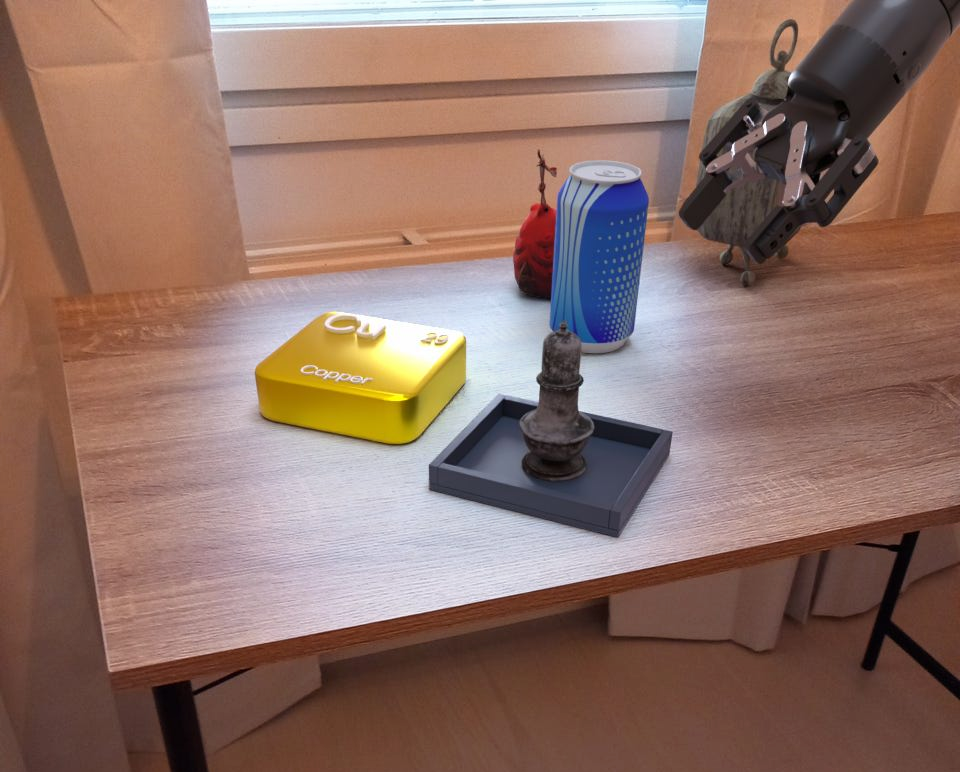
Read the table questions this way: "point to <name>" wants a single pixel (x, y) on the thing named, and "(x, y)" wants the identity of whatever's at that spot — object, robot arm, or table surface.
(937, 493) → the table surface
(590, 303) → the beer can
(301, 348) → the element tile
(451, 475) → the tray
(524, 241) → the red rounded tall piece
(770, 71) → the tabletop clock
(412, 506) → the table surface
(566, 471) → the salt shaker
